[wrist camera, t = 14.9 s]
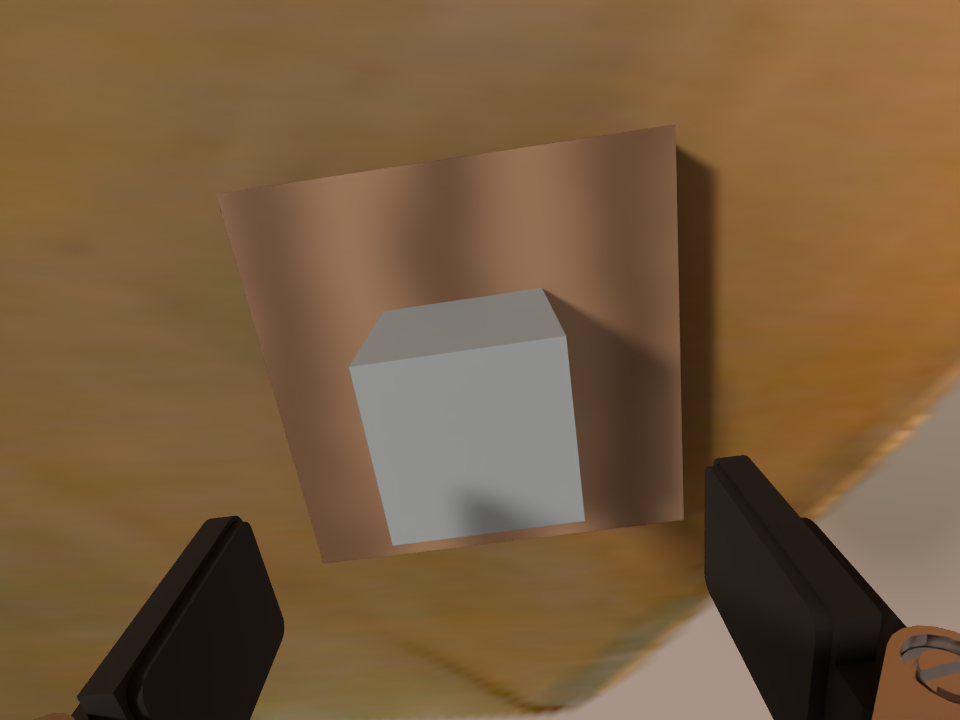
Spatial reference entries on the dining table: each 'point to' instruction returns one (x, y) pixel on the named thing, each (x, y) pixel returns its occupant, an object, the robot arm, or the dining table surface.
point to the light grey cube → (470, 417)
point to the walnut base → (470, 274)
